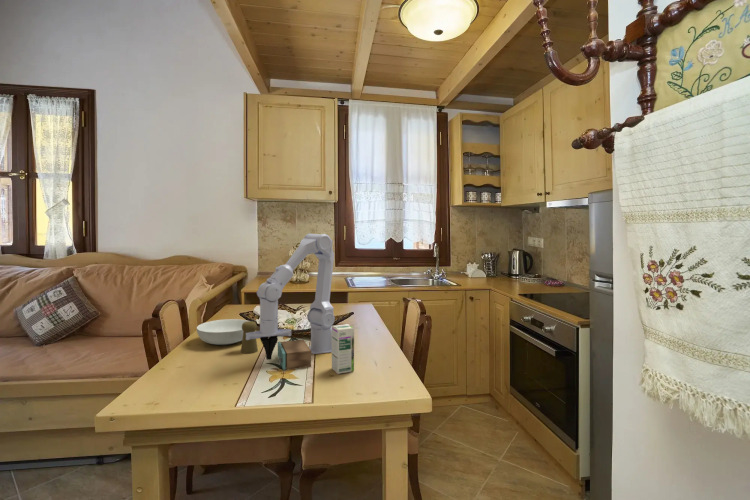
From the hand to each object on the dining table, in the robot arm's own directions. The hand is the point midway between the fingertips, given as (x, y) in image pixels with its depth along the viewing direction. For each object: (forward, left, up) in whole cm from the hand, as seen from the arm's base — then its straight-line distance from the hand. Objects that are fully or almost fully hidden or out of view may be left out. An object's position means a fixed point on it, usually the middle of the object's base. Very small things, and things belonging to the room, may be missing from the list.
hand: (268, 358), depth 121 cm
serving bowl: (+13, -31, -2) cm, 34 cm away
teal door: (-4, 0, -2) cm, 4 cm away
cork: (+5, -16, -2) cm, 17 cm away
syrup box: (-22, +13, -2) cm, 25 cm away
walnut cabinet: (-9, 0, -2) cm, 9 cm away
